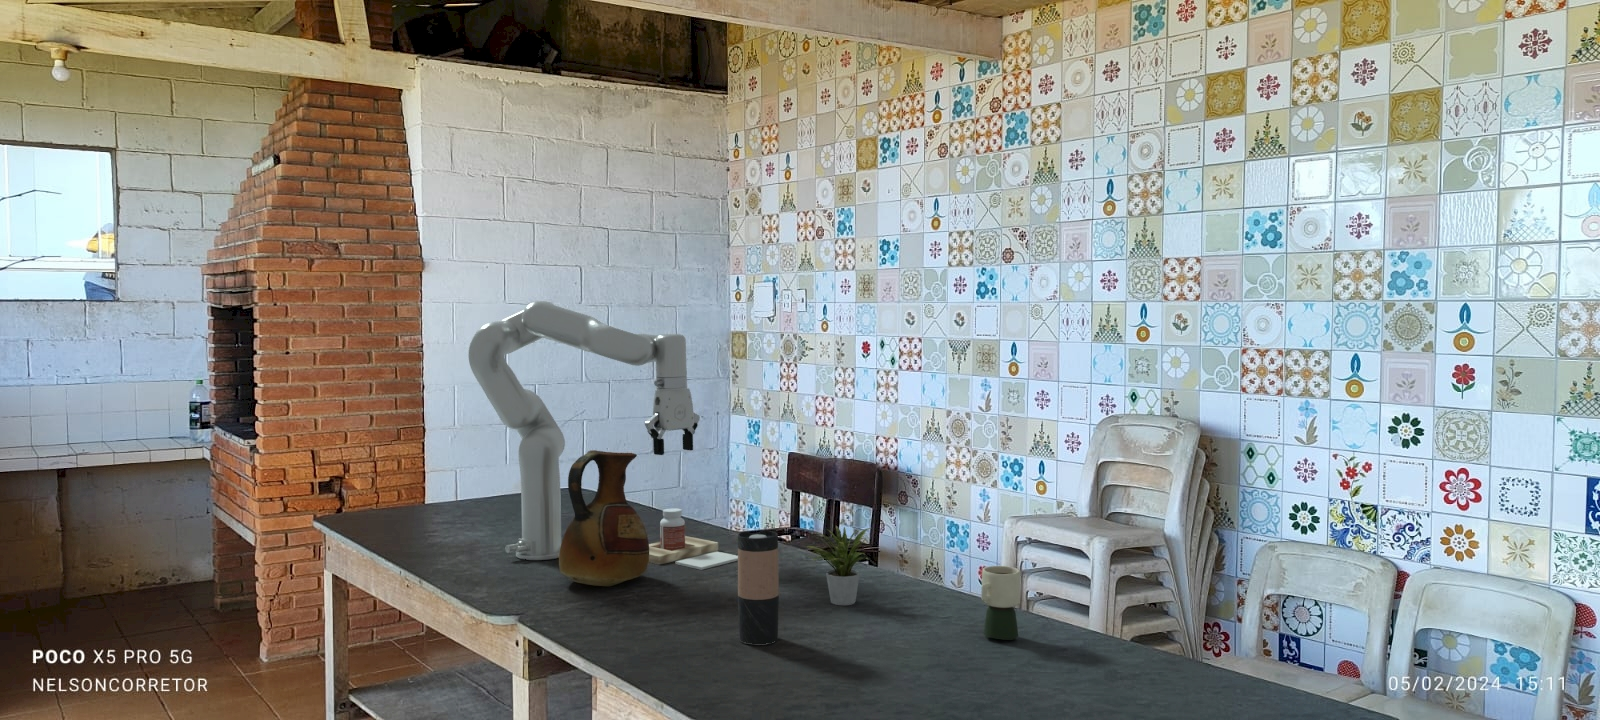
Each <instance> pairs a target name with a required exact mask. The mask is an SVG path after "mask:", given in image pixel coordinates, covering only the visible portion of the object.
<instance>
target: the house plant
mask: <svg viewBox="0 0 1600 720" xmlns="http://www.w3.org/2000/svg"><path fill="white" fill-rule="evenodd" d="M871 529H872V527H868V528H865V529H857V530H855V531H854V532H853V533H852V534H851V536H850V538H849V540H848V536H847V531H846V528H845V526H844V527H843V531H841V529H840V528H839V526H837V525H835V530H836V535H835V534H834V533H833V532H832V531H831V530H829V529H828V528H826V530H827V531H828V532H829V533H830V534H831V535H832V538H833V539H834V541H835V543H836V545H835V544H834V542H833V541H832V540H831V539H830V538H829V537H828V536H827V535H825V534H822V533H821V532H820V533H819V532H816V531H813V533H814V534H818V536H817V538H818V539H821V541H822V542H824V544H826V545H827V547H828V548H829V549H830V550H831V551H832V552H829V551H828V550H825V549H823V548H820V547H817V546H812V545H806V547H807V548H808V549H812V550H813V551H812V553H817V554H818V555H819V556H816V557H815V558H813V559H812V560H811V562H813V561H815V560H819V559H824V560H825V561H826V562H827V563H828V565H830V566H831V567H832V568H833V569H829V570H826V573H825V574H826V582H827V587H828V593H829V598H830V599H829V600H830V603H831V604H832V605H836V606H851V605H853V604H855V602H856V601H857V595H858V594H857V593H858V588H859V587H858V586H859V581H860V574H861V572H860V571H859V570H856V569H853V567H854V566H855V565H856V563H857V562H860V561H861V560H863V559H864V557H862V556H861V557H859V556H860V555H862V554H863V555H865V556H866V554H865V552H857V551H858V549H859V548H860V546H862V544H863V542H865V540H866V538H864V539H863V540H861V539H862V538H863V537H864V535H865V534H866V532H867V531H868V530H871ZM859 531H860V532H859ZM841 532H842V533H841ZM857 532H859V533H858V534H857V535H856V536H855V539H854V540H853V543H852V546H851V547H850V551H849V546H850V544H851V541H852V539H853V537H854V535H855V534H856V533H857ZM820 536H821V537H820ZM823 539H824V540H823ZM832 547H833V548H832ZM834 550H835V551H834ZM848 551H849V553H848ZM865 559H866V560H868V561H869V558H868V557H865Z"/></svg>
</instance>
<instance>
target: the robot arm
mask: <svg viewBox="0 0 1600 720" xmlns="http://www.w3.org/2000/svg"><path fill="white" fill-rule="evenodd" d="M541 339H546V340H549V341H554V342H555V343H556V342H557V343H559V344H563V345H567V346H569V347H573V348H575V349H578V350H581V351H585V352H588V353H592V354H595V355H599V356H601V357H605V358H607V359H609V360H610V359H611V360H614V361H618V362H620V363H623V364H627V365H629V366H630V365H632V366H634V367H637V366H638V367H639V366H643V365H645V364H648V363H655V372H656V373H655V375H656V380H655V381H654V387H656V390H655V391H654V398H653V405H652V406H653V408H652V416H651V417H649V418H648V419H647V420H646V421H645V422H644V426H645V428H646V430H647V434H649V436H650V437H651V439H653V440H652V441H653V442H652V443H653V454H654V455H655V456H656V455H657V456H664V455H665V440H664V438H663V436H664V434H665V433H666V431H667V432H669V431H678V430H682V432H683V433H682V449H683V450H684V451H694V435H695V434H696V430H697V428H698V424H699V421H700V418H701V417H700V415H698V414H697V413H695V412H694V404H693V398H692V394H691V390H690V388H688V376H687V375H688V374H687V372H688V371H687V340H686V337H685V336H684V335H683V334H679V333H667V334H660V335H655V334H646V333H637V334H636V333H633V332H629V331H627V330H623V329H621V328H620V329H619V328H616V327H614V326H611V325H608V324H606V323H603V322H601V321H600V320H598V319H597V318H595V317H592V316H590V315H588V314H584V313H581V312H577V311H574V310H571V309H568V308H564V307H561V306H557V305H555V304H554V303H552V302H549V301H547V300H546V301H545V300H543V301H542V300H539V301H538V300H536V301H533V302H531V303H528V304H527V306H525V308H524V309H523V310H521V311H519V312H517V313H515V314H513V315H511V316H508V317H506V318H504V319H502V320H499V321H498V320H497V321H496V320H495V321H491V322H487V323H485V324H484V325H482V326H481V327H480V328H479V329H478V330H477V331H476V332H475V334H474V336H473V337H472V339H471V341H470V344H469V346H468V347H469V348H468V361H469V366H470V369H471V373H472V374H473V375H474V377H475V379H476V381H477V382H478V384H479V386H480V387H481V388H482V390H483V392H484V394H485V396H486V397H487V400H488V401H489V403H490V404H491V406H492V407H493V409H494V411H495V412H496V413H497V415H498V417H499V419H500V421H501V422H502V423H503V425H504V426H506V428H508V429H511V430H516V431H517V433H518V434H519V436H520V437H521V441H520V443H519V446H518V463H519V471H520V472H519V473H520V494H521V498H520V499H521V538H520V537H519V538H518V539H517V540H518V541H517V542H516V543H515V544H514V543H512V544H507V545H505V547H504V550H505V553H506V554H511V553H515V557H516V558H518V559H520V560H525V559H526V560H528V561H542V560H543V561H544V560H545V561H546V560H548V561H549V560H554V559H559V552H560V547H561V543H562V510H561V509H562V505H561V502H562V501H561V500H562V499H561V497H562V496H561V473H560V460H559V459H560V456H561V455H562V454H563V452H564V450H565V446H566V440H565V436H564V434H563V432H562V430H561V428H560V426H559V425H558V423H557V422H556V420H555V418H554V417H553V415H552V414H551V412H550V411H549V408H547V406H546V404H545V403H544V401H543V400H542V398H541V396H539V395H538V393H536V392H535V391H532V390H531V389H526V388H524V387H523V385H522V384H521V383H520V381H519V380H518V378H517V375H516V374H515V373H514V371H513V370H512V368H511V367H510V365H509V364H508V363H507V360H506V357H505V355H508V354H511V353H513V352H516V351H518V350H519V349H522V348H524V347H527V346H528V345H531V344H532V343H534V342H537V341H539V340H541Z"/></svg>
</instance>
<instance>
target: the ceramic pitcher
mask: <svg viewBox="0 0 1600 720" xmlns="http://www.w3.org/2000/svg"><path fill="white" fill-rule="evenodd" d="M636 457H638V456H637V454H636V453H633V452H614V451H613V452H611V451H610V452H609V451H601V450H594V449H593V450H588V451H587V453H585V454H584V455H581V456H580V457H578V458H577V459H576V460H575V461H574V462H573V464H572V465H571V467H570V468H569V472H568V477H567V488H568V489H567V490H568V494H569V499H570V501H571V505H572V508H573V509H572V510H573V511H574V517H573V519H572V520H571V522H570V523H569V524H568V527H567V528H566V530H565V533H564V535H563V536H562V538H561V547H560V552H559V558H558V566H559V572H560V574H562V575H563V576H565V577H567V578H569V579H571V580H572V581H573V582H575V583H579V584H584V585H590V586H595V587H596V586H597V587H613V586H616V585H619V584H622V583H623V582H626V581H629V580H633V579H636V578H639V577H640V576H642V575H643V574H644V573H646V571H647V569H648V567H649V566H648V565H649V544H650V543H649V537H648V534H647V533H648V532H647V529H646V527H645V524H644V521H643V520H642V518H641V517H640V515H639V514H638V513H637V511H636V510H635V509H634V507H632V506H631V505H630V504H629V503H628V502H627V499H626V495H625V488H624V487H625V483H626V480H627V476H626V473H627V468H628V466H629V464H630V463H631V462H632V461H633V460H634V459H636ZM590 462H595V464H596V465H597V469H598V485H597V489H596V492H595V496H594V497H593V499H592V501H591V502H589V503H588V504H586V502H585V498H584V497H583V492H582V483H583V482H582V481H583V475H584V471H585V469H586V466H587V465H588V464H589V463H590Z"/></svg>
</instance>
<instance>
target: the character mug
mask: <svg viewBox="0 0 1600 720" xmlns="http://www.w3.org/2000/svg"><path fill="white" fill-rule="evenodd" d="M1021 575H1022V574H1021V570H1020V569H1019V568H1018V567H1014V566H1013V567H1012V566H1008V565H1006V566H1005V565H991V566H990V565H989V566H985V567H983V568H982V571H981V592H980V593H981V594H980V595H981V596H980V598H981V601H982V602H983V603H984V604H985V605H987V606H988V607H987V610H986V614H985V620H984V621H985V622H984V629H983V630H984V631H983V636H984V637H986V638H990V639H991V638H992V639H994V640H995V641H998V640H1002V641H1003V640H1004V641H1005V640H1007V641H1009V640H1010V641H1012V640H1015V639H1017V638H1018V636H1019V629H1018V622H1017V615H1016V614H1017V613H1016V610H1015V608H1014V607H1017V606H1019V605H1020V603H1021Z"/></svg>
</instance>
